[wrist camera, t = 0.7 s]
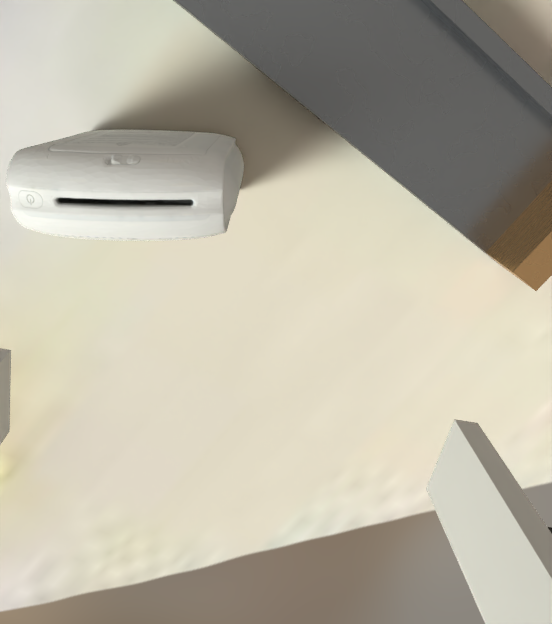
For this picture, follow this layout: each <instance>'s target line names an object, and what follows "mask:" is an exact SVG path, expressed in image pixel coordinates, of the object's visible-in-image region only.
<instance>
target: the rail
mask: <svg viewBox="0 0 552 624" xmlns="http://www.w3.org/2000/svg"><path fill="white" fill-rule="evenodd" d="M173 1H175V2H176V3H177V4H178V5H180V6H181V7H182V8H183V9H185V10H186V11H187V12H188V13H189V14H191V15H192V16H193V17H194V18H196V19H197V20H198V21H199V22H201V23H202V24H203V25H204V26H206V27H207V28H208V29H209V30H210V31H212V32H213V33H214V34H215V35H217V36H218V37H219V38H220V39H222V40H223V41H224V42H225V43H227V44H228V45H229V46H230V47H231V48H233V49H234V50H235V51H236V52H238V53H239V54H240V55H241V56H243V57H244V58H245V59H246V60H247V61H249V62H250V63H251V64H252V65H254V66H255V67H256V68H257V69H259V70H260V71H261V72H262V73H264V74H265V75H266V76H267V77H268V78H270V79H271V80H272V81H273V82H275V83H276V84H277V85H278V86H280V87H281V88H282V89H283V90H285V91H286V92H287V93H288V94H289V95H291V96H292V97H293V98H294V99H296V100H297V101H298V102H299V103H301V104H302V105H303V106H304V107H306V108H307V109H308V110H309V111H310V112H312V113H313V114H314V115H315V116H317V117H318V118H319V119H320V120H322V121H323V122H324V123H325V124H326V125H328V126H329V127H330V128H331V129H333V130H334V131H335V132H336V133H338V134H339V135H340V136H341V137H343V138H344V139H345V140H346V141H347V142H349V143H350V144H351V145H352V146H354V147H355V148H356V149H357V150H359V151H360V152H361V153H362V154H364V155H365V156H366V157H367V158H368V159H370V160H371V161H372V162H373V163H375V164H376V165H377V166H378V167H380V168H381V169H382V170H383V171H385V172H386V173H387V174H388V175H389V176H391V177H392V178H393V179H394V180H396V181H397V182H398V183H399V184H401V185H402V186H403V187H404V188H405V189H407V190H408V191H409V192H410V193H412V194H413V195H414V196H415V197H417V198H418V199H419V200H420V201H422V202H423V203H424V204H425V205H426V206H428V207H429V208H430V209H431V210H433V211H434V212H435V213H436V214H438V215H439V216H440V217H441V218H443V219H444V220H445V221H446V222H447V223H449V224H450V225H451V226H452V227H454V228H455V229H456V230H457V231H459V232H460V233H461V234H462V235H464V236H465V237H466V238H467V239H468V240H470V241H471V242H472V243H473V244H475V245H476V246H477V247H478V248H480V249H481V250H482V251H483V252H484V253H486V254H487V255H488V256H489V257H491V258H492V259H493V260H494V261H496V262H497V263H498V264H500V265H501V266H502V267H504V268H505V269H506V270H508V271H509V272H511V273H512V274H513V275H515V276H516V277H517V278H519V279H520V280H521V281H523V282H524V283H526V284H527V285H528V286H530V287H531V288H532V289H534V290H535V291H537V290H538V289H539V287H540V286H541V285H542V284H543V283H544V282H545V281H546V280H547V279H548V278H549V277H550V276H551V275H552V87H551V86H550V85H549V84H548V83H547V82H546V81H544V80H543V79H542V78H541V77H540V76H539V75H538V74H537V73H536V72H535V71H534V70H533V69H532V68H531V67H530V66H529V65H528V64H527V63H526V62H525V61H524V60H523V59H522V58H521V57H520V56H519V55H518V54H517V53H516V52H515V51H514V50H513V49H511V48H510V47H509V46H508V45H507V44H506V43H505V42H504V41H503V40H502V39H501V38H500V37H499V36H498V35H497V34H496V33H495V32H494V31H493V30H492V29H491V28H490V27H489V26H488V25H487V24H486V23H485V22H484V21H483V20H482V19H481V18H480V17H478V16H477V15H476V14H475V13H474V12H473V11H472V10H471V9H470V8H469V7H468V6H467V5H466V4H465V3H464V2H463V1H462V0H173Z"/></svg>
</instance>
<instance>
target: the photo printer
mask: <svg viewBox="0 0 552 624" xmlns="http://www.w3.org/2000/svg"><path fill="white" fill-rule="evenodd" d="M235 141H236V139H235V138H233V137H230V136H226V135H222V134H216V133H206V132H189V131H165V130H96V131H89V132H84V133H81V134H77V135H74V136H70V137H66V138H62V139H59V140H55V141H51V142H47V143H43V144H39V145H35V146H31V147H27V148H24V149H21V150H19V151H17V152H16V153H15V154H14V156H13V157H12V159H11V161H10V163H9V167H8V170H7V176H6V186H7V188H8V191H9V194H10V198H11V211H12V214H13V216H14V217H15V219H16V220H17V221H18V223H19V224H20V225H22V226H23V227H25V228H27V229H30V230H33V231H37V232H40V233H44V234H48V235H54V236H60V237H69V238H80V239H93V240H116V241H164V240H187V239H197V238H205V237H210V236H214V235H218V234H222V233H225V232H226V231H227V228H228V224H229V221H230V217H231V214H232V213H233V211H234V208H235V206H236V202H237V198H238V194H239V190H240V186H241V182H242V178H243V173H244V160H243V156H242V154H241V151H240V150H239V148H238V147H237V146H236V144H235Z"/></svg>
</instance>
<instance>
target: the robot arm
mask: <svg viewBox="0 0 552 624" xmlns="http://www.w3.org/2000/svg"><path fill="white" fill-rule="evenodd" d="M10 374H11V350H7V349H0V444H1V443H2V442H3V440H4V439H5V437H6V436H7V434H8V433H9V427H10ZM426 490H427V492H428V494H429V496H430V499H431V501H432V503H433V506H434V508H435V510H436V512H437V515H438V517H439V519H440V522H441V524H442V526H443V528H444V531H445V533H446V535H447V538H448V540H449V542H450V544H451V547H452V549H453V551H454V554H455V556H456V558H457V560H458V562H459V565H460V567H461V569H462V572H463V574H464V576H465V579H466V581H467V583H468V586H469V588H470V590H471V592H472V595H473V597H474V599H475V602H476V604H477V606H478V608H479V611H480V613H481V615H482V617H483V620H484V622H485V624H552V528H550V527H547V526H546V524H545V523H544V521H543V520H542V519H541V517H540V516H539V514H538V512H537V511H536V509H535V508H534V507H533V505H532V503H531V502H530V501H529V499H528V498H527V496H526V495H525V493H524V492H523V490H522V489H521V487H520V486H519V484H518V483H517V481H516V480H515V478H514V477H513V475H512V474H511V472H510V471H509V469H508V468H507V466H506V465H505V463H504V462H503V460H502V459H501V457H500V456H499V454H498V453H497V451H496V450H495V448H494V447H493V445H492V444H491V442H490V441H489V439H488V438H487V436H486V435H485V433H484V432H483V430H482V429H481V427H480V426H479V424H478V423H474V422H467V421H461V420H455V419H454V422H453V424H452V427H451V429H450V432H449V434H448V436H447V439H446V441H445V444H444V446H443V449H442V451H441V454H440V456H439V458H438V461H437V463H436V466H435V468H434V471H433V473H432V476H431V478H430V480H429V483H428V485H427V488H426Z"/></svg>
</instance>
